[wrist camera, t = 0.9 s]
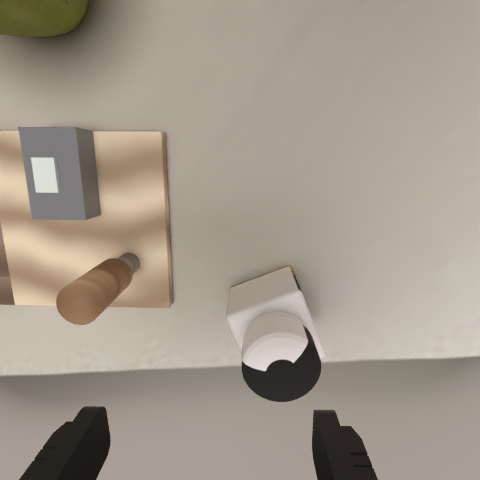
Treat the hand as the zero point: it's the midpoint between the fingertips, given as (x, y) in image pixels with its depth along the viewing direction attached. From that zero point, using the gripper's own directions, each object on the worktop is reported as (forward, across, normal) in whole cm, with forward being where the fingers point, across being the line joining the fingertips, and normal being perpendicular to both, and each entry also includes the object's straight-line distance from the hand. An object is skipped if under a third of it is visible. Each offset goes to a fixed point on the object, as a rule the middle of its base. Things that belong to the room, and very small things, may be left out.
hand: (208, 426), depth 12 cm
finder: (+21, +16, -9) cm, 28 cm away
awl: (+21, +11, 0) cm, 23 cm away
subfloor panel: (+22, +20, -4) cm, 30 cm away
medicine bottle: (+22, -4, +6) cm, 23 cm away
